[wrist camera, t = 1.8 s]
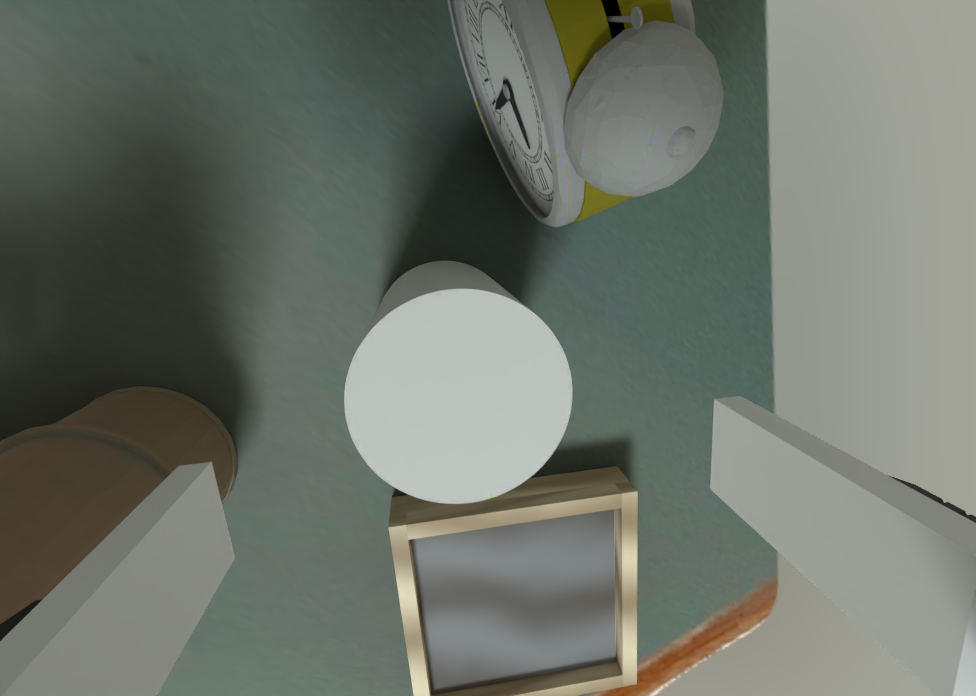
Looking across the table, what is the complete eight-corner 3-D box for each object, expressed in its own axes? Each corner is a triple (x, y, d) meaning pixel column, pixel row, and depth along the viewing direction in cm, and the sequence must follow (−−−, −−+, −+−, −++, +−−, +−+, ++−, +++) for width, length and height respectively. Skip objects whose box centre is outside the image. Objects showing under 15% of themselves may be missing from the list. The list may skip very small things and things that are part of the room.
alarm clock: (431, 13, 25) (445, -278, 10) (553, -40, 25) (737, -401, 10) (517, 230, 28) (618, 241, 14) (624, 182, 28) (838, 142, 14)
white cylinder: (354, 363, 29) (308, 459, 17) (410, 236, 27) (401, 247, 16) (477, 414, 30) (511, 531, 19) (536, 296, 29) (611, 346, 18)
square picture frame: (391, 497, 31) (388, 527, 28) (617, 465, 33) (637, 491, 30) (418, 681, 35) (418, 725, 32) (618, 645, 37) (636, 683, 34)
